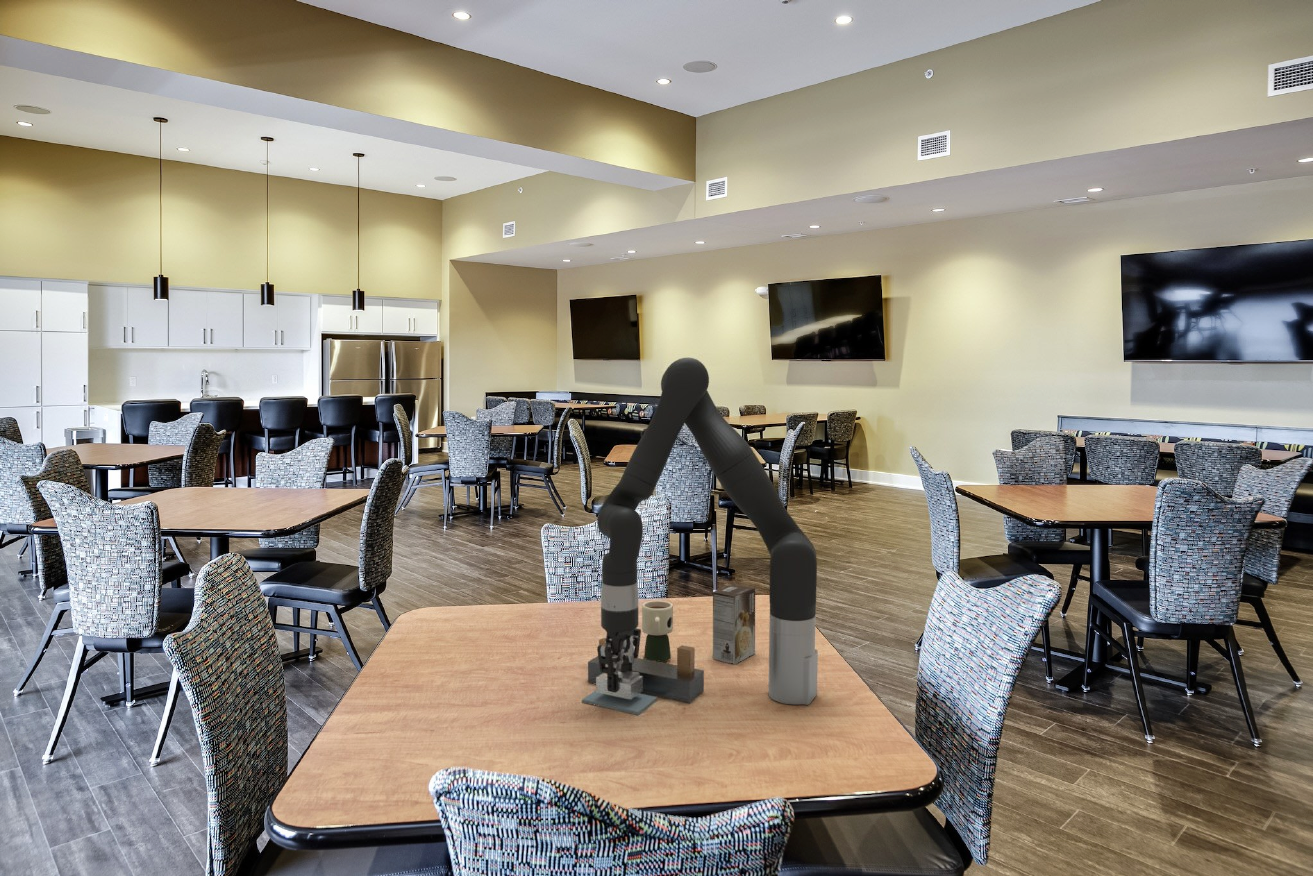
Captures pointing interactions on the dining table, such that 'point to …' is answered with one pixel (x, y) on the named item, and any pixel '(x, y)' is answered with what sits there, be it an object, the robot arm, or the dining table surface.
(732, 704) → the dining table surface
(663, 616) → the character mug
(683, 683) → the dark grey post stand
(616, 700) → the mat
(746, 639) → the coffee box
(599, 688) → the lever cap
